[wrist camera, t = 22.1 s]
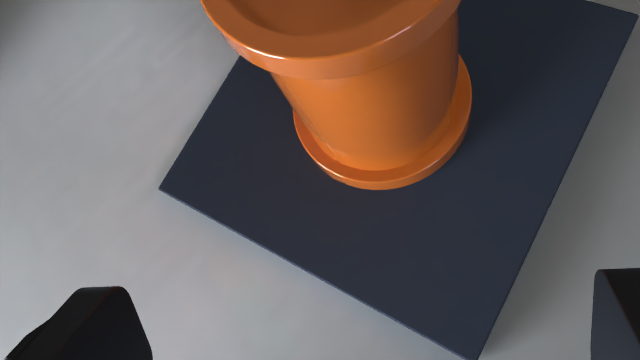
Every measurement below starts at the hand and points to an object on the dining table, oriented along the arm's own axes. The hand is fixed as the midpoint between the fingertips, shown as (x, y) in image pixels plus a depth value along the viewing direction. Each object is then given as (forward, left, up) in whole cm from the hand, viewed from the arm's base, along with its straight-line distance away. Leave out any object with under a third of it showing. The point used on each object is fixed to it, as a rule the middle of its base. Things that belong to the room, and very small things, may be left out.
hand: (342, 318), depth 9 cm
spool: (+4, -6, -7) cm, 10 cm away
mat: (+4, -6, -7) cm, 10 cm away
